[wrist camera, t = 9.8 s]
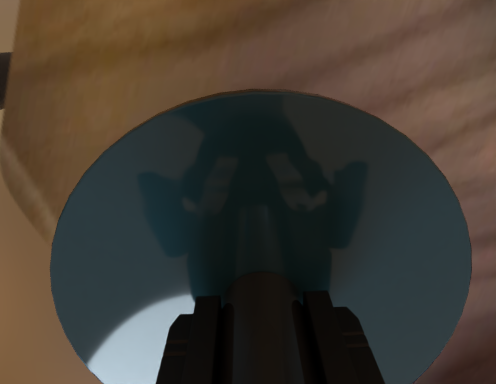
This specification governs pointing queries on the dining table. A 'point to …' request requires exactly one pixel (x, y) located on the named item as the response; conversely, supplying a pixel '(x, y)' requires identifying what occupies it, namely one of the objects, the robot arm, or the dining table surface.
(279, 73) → the dining table surface
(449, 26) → the dining table surface
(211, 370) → the robot arm
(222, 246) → the lid
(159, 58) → the dining table surface
